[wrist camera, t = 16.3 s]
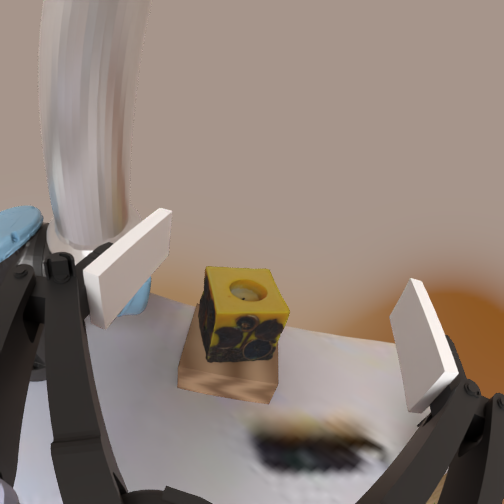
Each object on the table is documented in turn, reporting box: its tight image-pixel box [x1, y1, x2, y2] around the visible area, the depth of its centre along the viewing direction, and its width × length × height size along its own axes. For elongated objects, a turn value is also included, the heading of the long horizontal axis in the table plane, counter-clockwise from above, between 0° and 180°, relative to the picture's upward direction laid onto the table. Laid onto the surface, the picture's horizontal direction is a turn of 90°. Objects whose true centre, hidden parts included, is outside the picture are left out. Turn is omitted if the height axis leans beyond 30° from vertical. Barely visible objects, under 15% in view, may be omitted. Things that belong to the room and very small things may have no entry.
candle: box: [198, 266, 290, 363], centre depth 44 cm, size 10×10×10 cm
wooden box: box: [177, 304, 278, 404], centre depth 47 cm, size 14×14×6 cm
